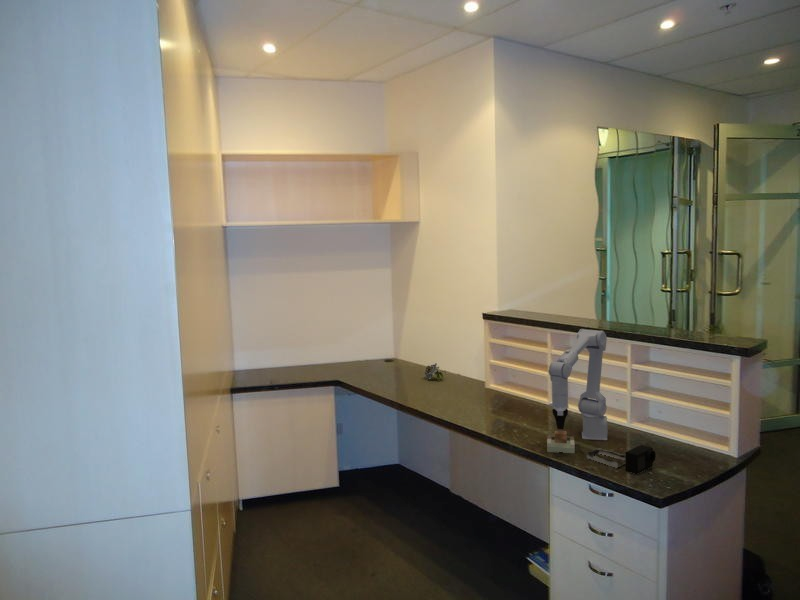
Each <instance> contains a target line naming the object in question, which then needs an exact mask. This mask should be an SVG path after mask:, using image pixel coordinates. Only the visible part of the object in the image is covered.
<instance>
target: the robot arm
mask: <svg viewBox="0 0 800 600" xmlns="http://www.w3.org/2000/svg"><path fill="white" fill-rule="evenodd" d="M606 349H607V334H606V332H605V331H604V330H595V329H585V328H580V329H579V331H578V332H577V333H576V340H575V342H574V343H573V345H572V346H571V347H570V349H566V350H564V352H563V353H562V354H561V355H560V356H559V358H557V360H555V361H553V362H551V363H550V364H549V366H548V370H547V371H548V374H549V378H550V381H551V401H552V402H551V403H548V407H549V408H552V411H551V412H552V415H553V416H554V419H555V424H556V428H557V430H564V428H565V422H566V420H567V419H566V418H567V416H568V414H569V410H568V409H569V407H570V406H569V387H568V386H569V385H568V383H569V381H568V380H569V379H568V378H569V377H570V376H571V373H572V370H573V367H574V366H575V364H576V363H577V362H578V361H579V355H580V354H581V353H582V351H584V350H587V351H588V353H589V355H588V367H587V380H586V390H585V391H584V392H582V393H580V396H579V400H578V402H577V408H578V411H579V412H580V414H581V416H582V431H581V437H582V440H593V441H594V440H595V441H608V433H609V432H608V431H609V430H608V417H607V415H605V414H607V399H606V397H605V396H604V394H602V392H600V388H601V377H602V367H603V357H604V355H603V354H604V352H605V351H606Z"/></svg>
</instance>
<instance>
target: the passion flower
mask: <svg viewBox="0 0 800 600" xmlns="http://www.w3.org/2000/svg"><path fill="white" fill-rule="evenodd" d="M437 365H438V364H437V362H435V363H434V364H431V365H426V368H424V370H425V371H424V372H423V373H424V375H425V376H426V381H430V380H431V379H433V376H435V377H436V380H437V382H441V380H443V379H444V375H443V373H442V372H444V374H445V375H446V374H447V372H446V370H443V371H439V369H440V366H437Z"/></svg>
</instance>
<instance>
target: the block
mask: <svg viewBox="0 0 800 600" xmlns="http://www.w3.org/2000/svg"><path fill="white" fill-rule="evenodd" d="M554 436H555V443H567V436H568V435H567V430H554Z"/></svg>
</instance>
